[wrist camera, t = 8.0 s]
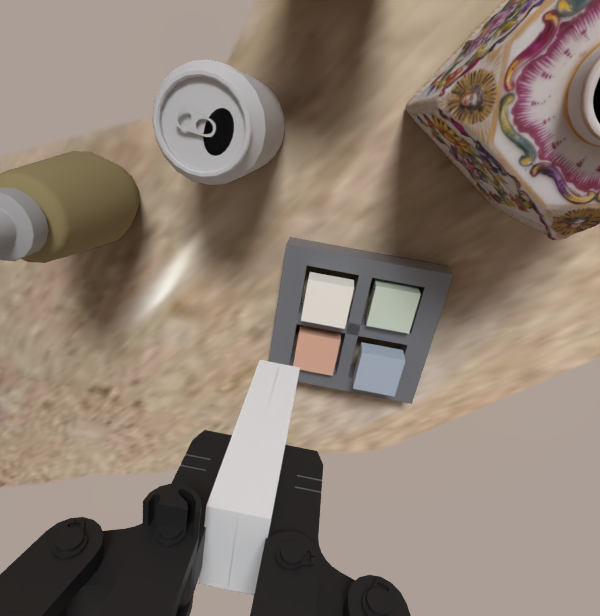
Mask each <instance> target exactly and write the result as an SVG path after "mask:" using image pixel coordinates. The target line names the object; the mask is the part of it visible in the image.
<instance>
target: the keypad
mask: <svg viewBox="0 0 600 616" xmlns="http://www.w3.org/2000/svg"><path fill="white" fill-rule="evenodd" d="M307 266H312V267H318V268H323V269H329V270H334V271H339V272H345V273H350V274H355V275H356V279H355V283H354V291H353V295H352V300H351V304H350V308H349V313H348V317H347V322H346V326H345V329H342V328H337V327H332V326H327V325H321V324H316V323H311V322H305V321H301V317H302V311H303V306H304V303H301V300H302V295H303V289H304V283H305V278H306V272H307ZM372 278H377V279H382V280H388V281H393V282H399V283H404V284H409V285H415V286H418V289H419V291H420V293H421V295H420V299H419V302H418V305H417V309H416V312H415V315H414V319H413V322H412V325H411V329H410V332H409V334H408V333H402V332H397V331H392V330H386V329H381V328H376V327H370V326H366V318H365V316H366V315H365V314H363V313H364V309H365V305H366V301H367V297H368V293H369V289H370V285H371V280H372ZM452 278H453V274H452V272H451V271H450V269H449V268H448V267H447V266H444V265H438V264H433V263H428V262H422V261H417V260H411V259H406V258H400V257H395V256H389V255H384V254H379V253H373V252H368V251H362V250H357V249H351V248H346V247H341V246H335V245H330V244H324V243H319V242H313V241H308V240H302V239H297V238H292V237H290V238H289V240H288V242H287V245H286V252H285V258H284V265H283V271H282V278H281V285H280V291H279V298H278V304H277V311H276V317H275V324H274V331H273V337H272V344H271V350H270V357H269V362H274V363H279V364H284V365H289V366H293V363H294V358H295V354H292V351H293V346H294V340H295V334H296V329H297V324H298V325H304V326H309V327H314V328H319V329H325V330H330V331H335V332H341V333H343V336H342V341H341V345H340V349H339V354H338V358H337V362H336V363H335V368H334V372H333V376H331V375H325V374H320V373H315V372H310V371H305V370H300V371H299V376H298V381H297V382H302V383H307V384H312V385H317V386H323V387H328V388H333V389H338V390H343V391H348V392H354V393H359V394H364V395H369V396H374V397H379V398H385V399H390V400H395V401H400V402H405V403H411V404H412V401H413V398H414V395H415V392H416V389H417V386H418V383H419V380H420V377H421V373H422V370H423V367H424V364H425V361H426V358H427V355H428V352H429V349H430V346H431V343H432V340H433V337H434V334H435V330H436V327H437V324H438V321H439V318H440V315H441V312H442V309H443V306H444V303H445V300H446V297H447V294H448V290H449V287H450V284H451V281H452ZM358 336H362V337H367V338H372V339H378V340H383V341H388V342H393V343H399V344H401V346H400V350H403V353H404V357H405V364H404V367H403V371H402V374H401V377H400V380H399V384H398V387H397V390H396V394H395V397H394V396H389V395H383V394H378V393H373V392H368V391H363V390H357V389H353V374H354V370H355V366H354V365H351V363H352V358H353V354H354V350H355V346H356V342H357V338H358Z"/></svg>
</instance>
